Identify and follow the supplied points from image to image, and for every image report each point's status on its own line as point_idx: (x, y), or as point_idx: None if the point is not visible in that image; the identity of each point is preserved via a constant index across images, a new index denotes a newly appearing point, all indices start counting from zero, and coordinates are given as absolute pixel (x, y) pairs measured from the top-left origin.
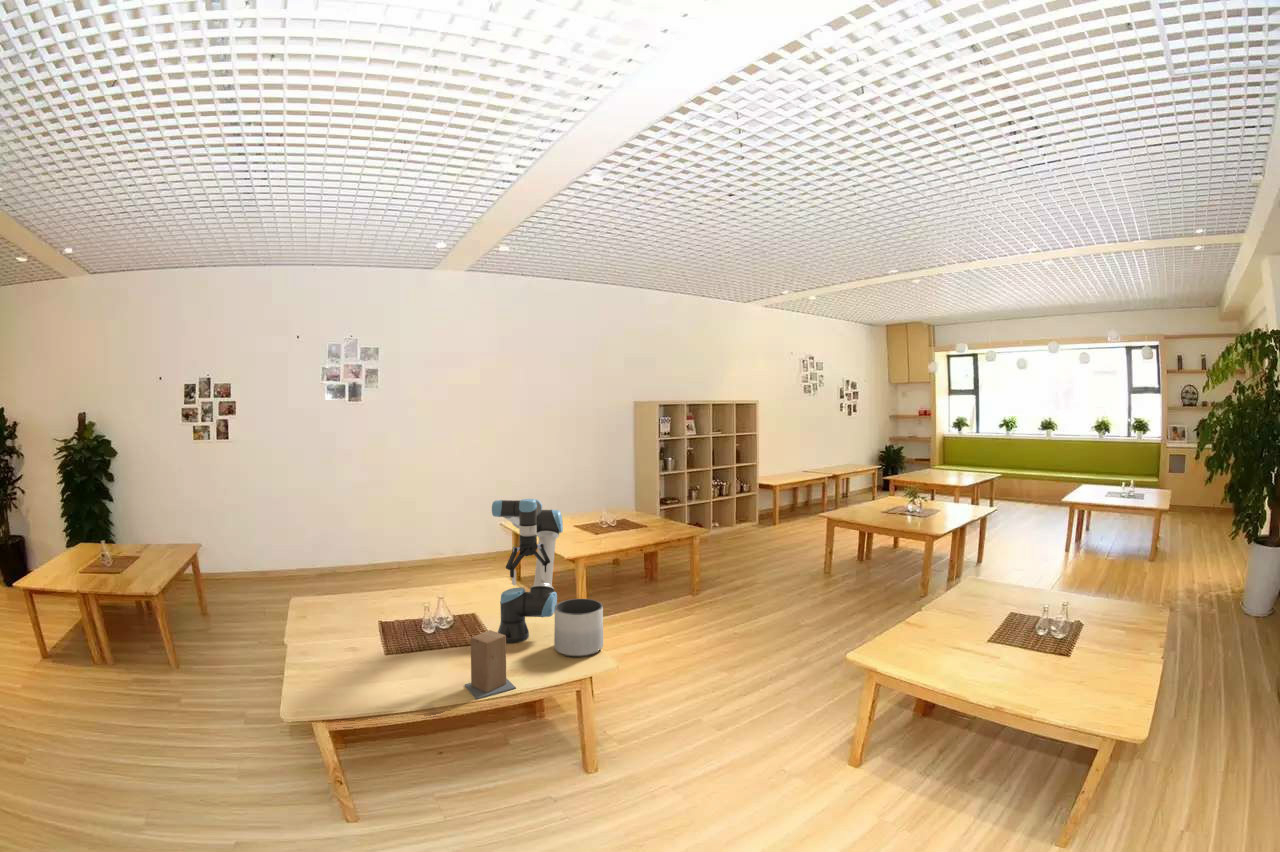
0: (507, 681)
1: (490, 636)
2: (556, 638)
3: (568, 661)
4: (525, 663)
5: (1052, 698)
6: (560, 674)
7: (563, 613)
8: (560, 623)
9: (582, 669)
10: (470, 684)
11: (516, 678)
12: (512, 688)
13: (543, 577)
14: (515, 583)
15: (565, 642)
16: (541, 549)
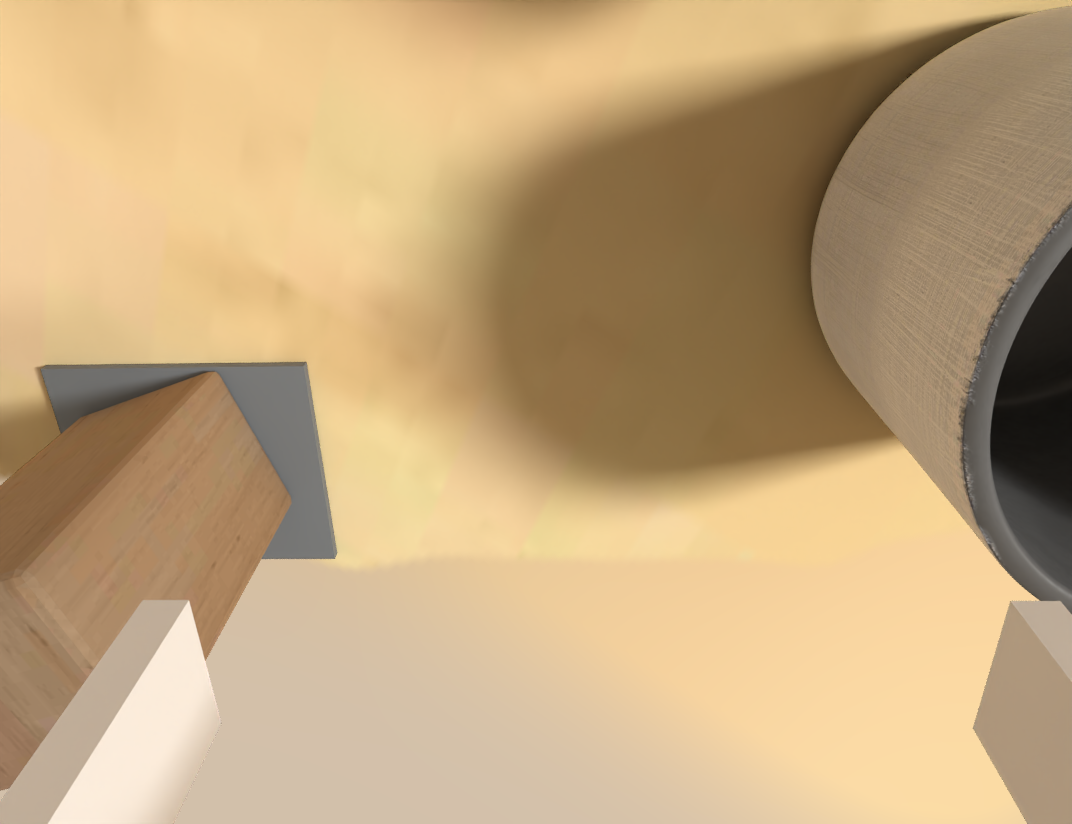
0: (309, 473)
1: (11, 715)
2: (846, 264)
3: (795, 399)
4: (517, 262)
5: None
6: (644, 532)
7: (967, 500)
8: (906, 396)
9: (795, 544)
10: (77, 392)
11: (380, 442)
12: (315, 557)
13: (1021, 797)
14: (188, 763)
15: (856, 380)
16: None
